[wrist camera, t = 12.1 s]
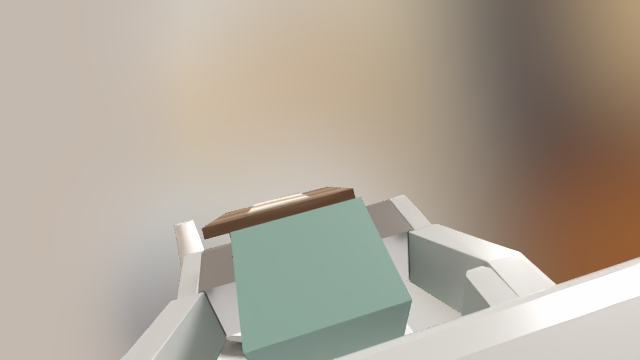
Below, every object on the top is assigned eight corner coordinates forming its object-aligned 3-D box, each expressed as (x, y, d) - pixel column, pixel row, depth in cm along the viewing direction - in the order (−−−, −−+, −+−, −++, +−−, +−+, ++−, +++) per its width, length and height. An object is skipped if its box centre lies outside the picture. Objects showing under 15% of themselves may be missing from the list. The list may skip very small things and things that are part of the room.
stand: (419, 452, 32) (352, 186, 31) (275, 508, 30) (201, 226, 30) (372, 367, 47) (326, 185, 46) (274, 401, 45) (225, 211, 44)
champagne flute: (207, 305, 93) (185, 221, 92) (225, 304, 90) (202, 217, 89) (188, 317, 87) (164, 227, 86) (206, 317, 84) (182, 224, 83)
